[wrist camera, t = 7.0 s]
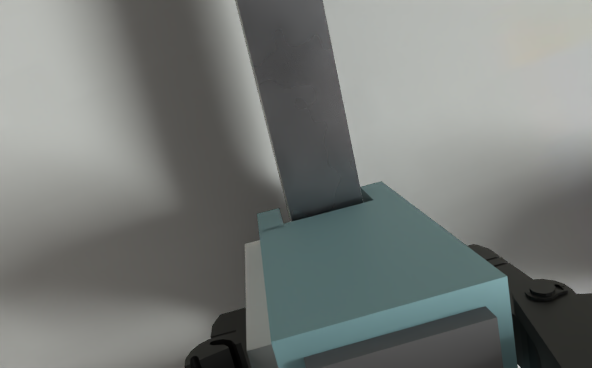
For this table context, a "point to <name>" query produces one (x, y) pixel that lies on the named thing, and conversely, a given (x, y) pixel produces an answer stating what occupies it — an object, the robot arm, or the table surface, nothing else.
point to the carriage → (381, 291)
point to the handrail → (301, 103)
